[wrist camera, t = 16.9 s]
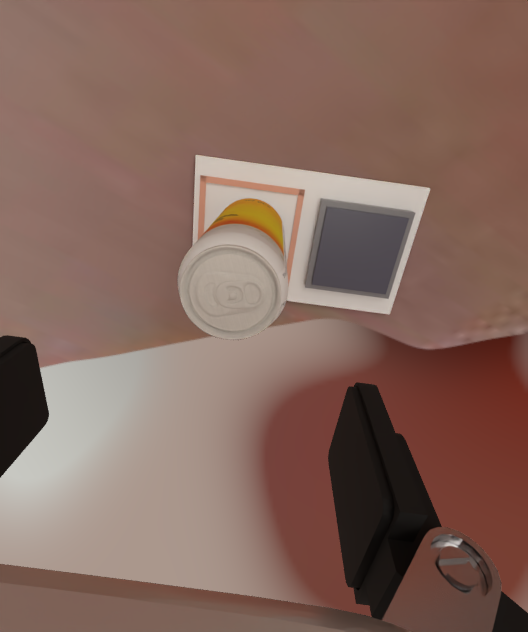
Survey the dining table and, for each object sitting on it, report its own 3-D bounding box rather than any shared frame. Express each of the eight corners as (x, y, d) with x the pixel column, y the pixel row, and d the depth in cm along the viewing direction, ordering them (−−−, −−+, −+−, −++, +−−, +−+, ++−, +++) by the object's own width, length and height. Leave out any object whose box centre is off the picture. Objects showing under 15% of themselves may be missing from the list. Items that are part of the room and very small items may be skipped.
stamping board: (425, 187, 30) (436, 189, 28) (386, 310, 35) (393, 320, 33) (198, 154, 29) (192, 155, 27) (193, 284, 35) (187, 292, 33)
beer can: (213, 198, 30) (161, 240, 16) (283, 195, 30) (287, 234, 16) (221, 265, 33) (181, 348, 19) (285, 262, 32) (290, 345, 19)
